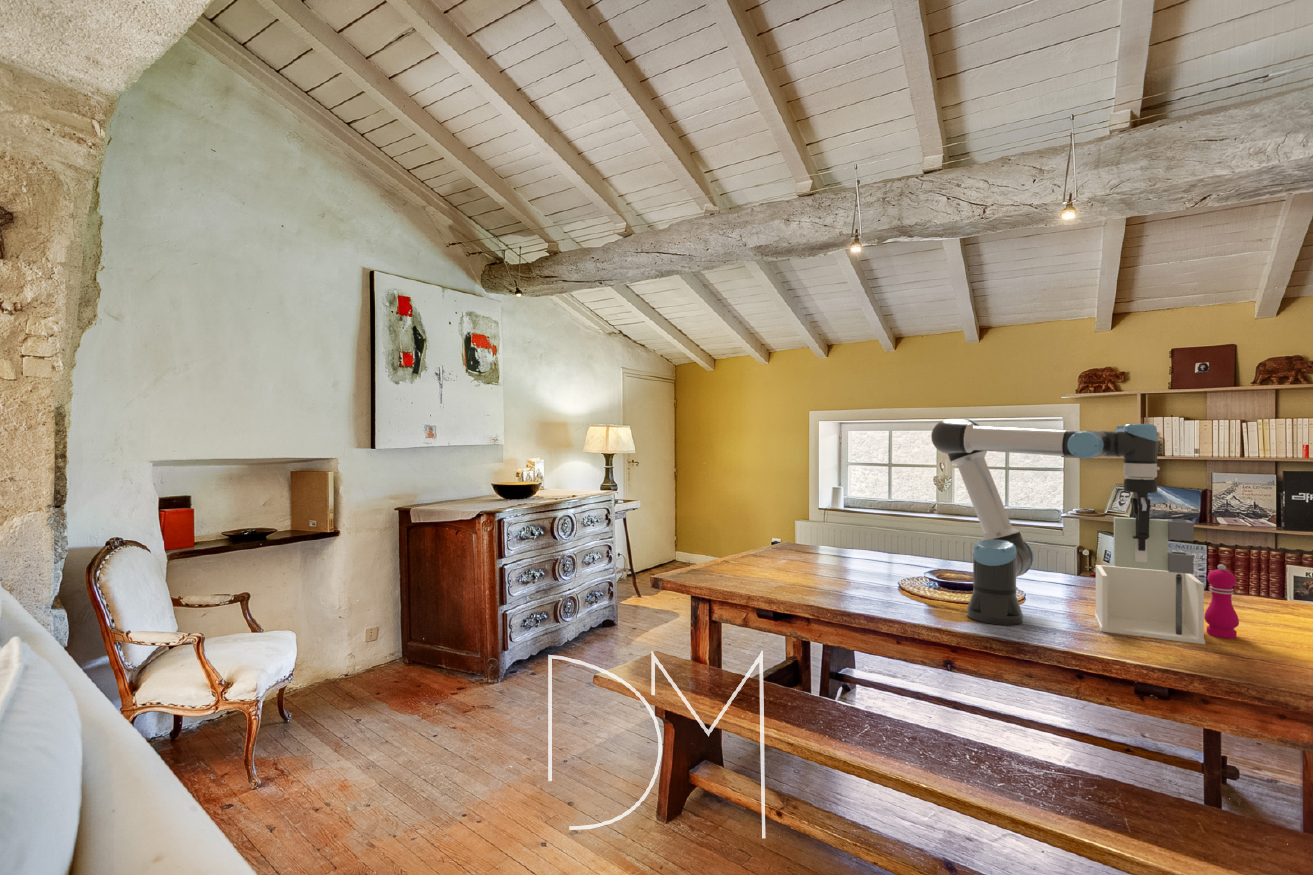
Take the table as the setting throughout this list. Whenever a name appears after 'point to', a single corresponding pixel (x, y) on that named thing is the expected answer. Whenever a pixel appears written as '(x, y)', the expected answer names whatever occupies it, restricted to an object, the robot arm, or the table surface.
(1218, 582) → the pepper mill
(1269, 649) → the table surface
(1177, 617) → the hinge pin
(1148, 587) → the carcass
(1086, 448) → the robot arm
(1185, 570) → the door
